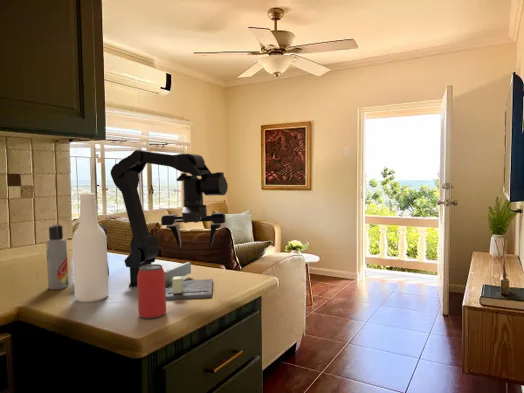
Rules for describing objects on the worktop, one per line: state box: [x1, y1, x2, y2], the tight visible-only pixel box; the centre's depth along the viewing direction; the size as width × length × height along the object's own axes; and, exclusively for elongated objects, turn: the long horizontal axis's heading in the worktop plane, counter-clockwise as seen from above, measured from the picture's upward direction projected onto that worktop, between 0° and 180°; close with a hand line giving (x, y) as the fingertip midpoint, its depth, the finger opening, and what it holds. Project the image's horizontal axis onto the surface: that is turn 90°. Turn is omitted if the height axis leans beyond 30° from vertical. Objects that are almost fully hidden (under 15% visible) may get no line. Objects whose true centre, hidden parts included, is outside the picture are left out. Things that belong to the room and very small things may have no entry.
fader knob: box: [172, 276, 184, 294], centre depth 107 cm, size 2×3×4 cm
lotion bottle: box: [45, 223, 69, 290], centre depth 120 cm, size 6×6×20 cm
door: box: [164, 261, 192, 284], centre depth 122 cm, size 14×2×4 cm, turn 159°
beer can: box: [136, 263, 167, 320], centre depth 93 cm, size 7×7×12 cm
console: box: [165, 278, 214, 301], centre depth 112 cm, size 15×16×1 cm
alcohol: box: [71, 192, 109, 303], centre depth 107 cm, size 9×9×30 cm
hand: (195, 247), depth 114 cm, fingers open, 9 cm apart
